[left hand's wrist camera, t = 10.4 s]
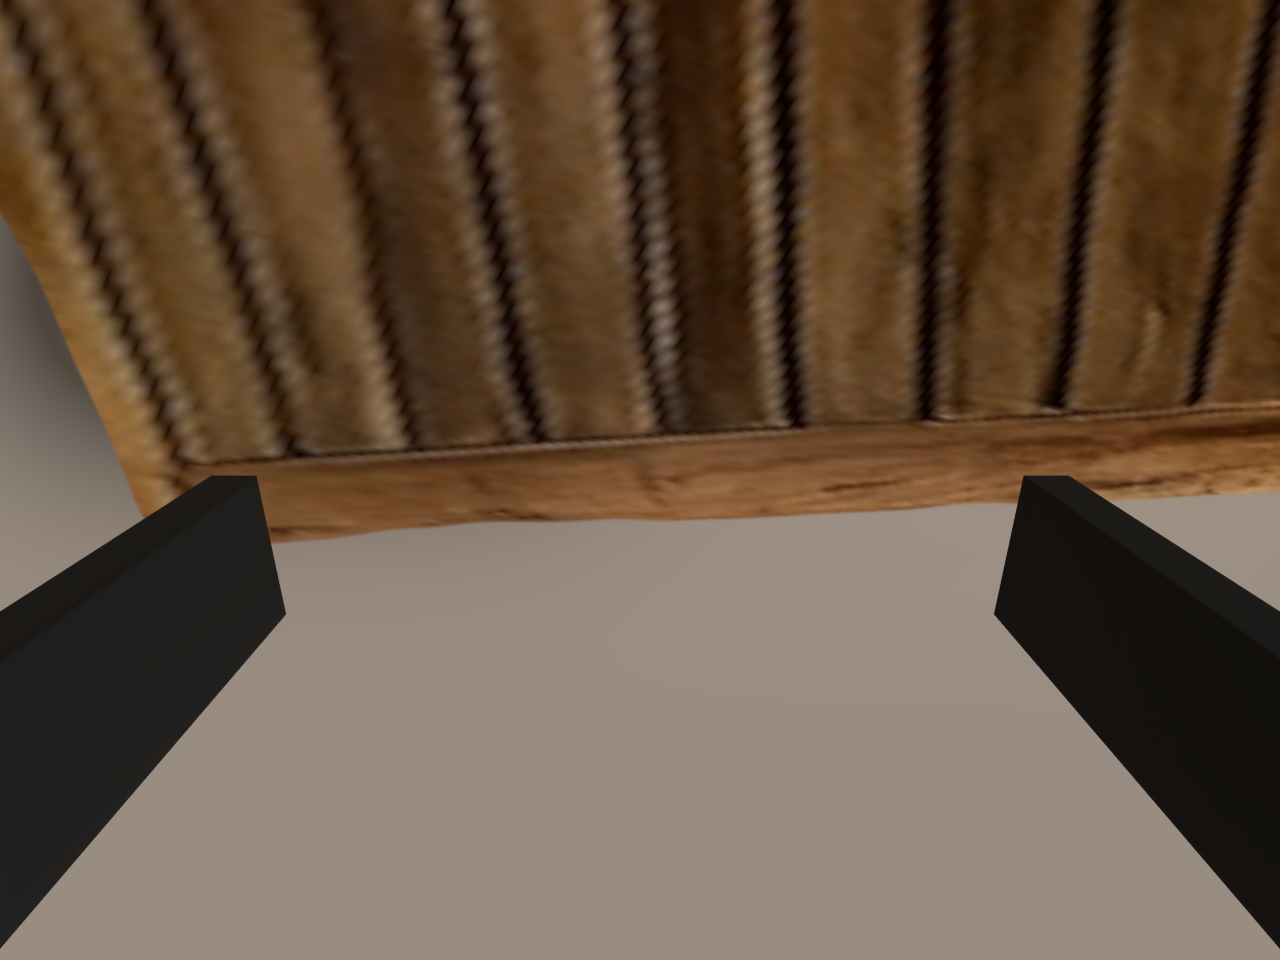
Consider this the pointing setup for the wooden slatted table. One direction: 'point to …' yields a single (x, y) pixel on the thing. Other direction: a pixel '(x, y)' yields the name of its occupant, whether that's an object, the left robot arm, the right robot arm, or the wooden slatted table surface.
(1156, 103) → the wooden slatted table surface
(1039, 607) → the left robot arm
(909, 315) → the wooden slatted table surface
